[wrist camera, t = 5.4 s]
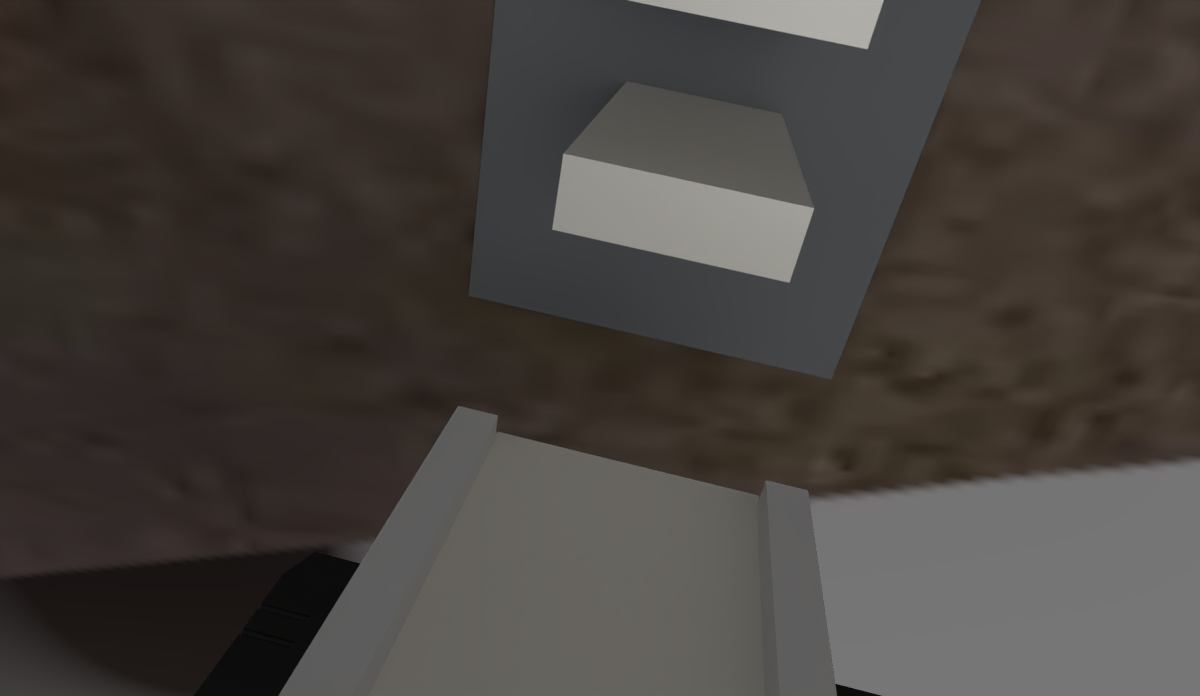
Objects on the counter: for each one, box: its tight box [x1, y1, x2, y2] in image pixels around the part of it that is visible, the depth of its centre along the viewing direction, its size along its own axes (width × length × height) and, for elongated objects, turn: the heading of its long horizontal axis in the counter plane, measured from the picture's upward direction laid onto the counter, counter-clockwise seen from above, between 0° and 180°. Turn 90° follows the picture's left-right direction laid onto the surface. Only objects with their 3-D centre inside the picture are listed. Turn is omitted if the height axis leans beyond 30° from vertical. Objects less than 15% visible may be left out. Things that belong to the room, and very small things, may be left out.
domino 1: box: [552, 81, 814, 283], centre depth 19 cm, size 5×2×10 cm, turn 80°
